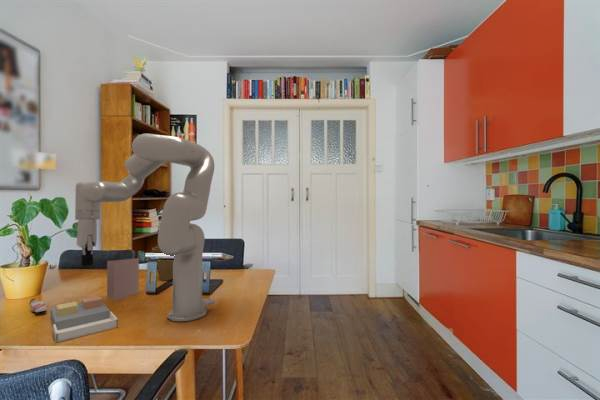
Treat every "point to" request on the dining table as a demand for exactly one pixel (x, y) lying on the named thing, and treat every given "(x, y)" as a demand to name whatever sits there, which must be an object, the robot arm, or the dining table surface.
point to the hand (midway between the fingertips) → (87, 265)
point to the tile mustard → (67, 309)
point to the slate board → (80, 316)
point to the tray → (85, 329)
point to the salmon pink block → (91, 302)
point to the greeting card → (122, 278)
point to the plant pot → (164, 267)
